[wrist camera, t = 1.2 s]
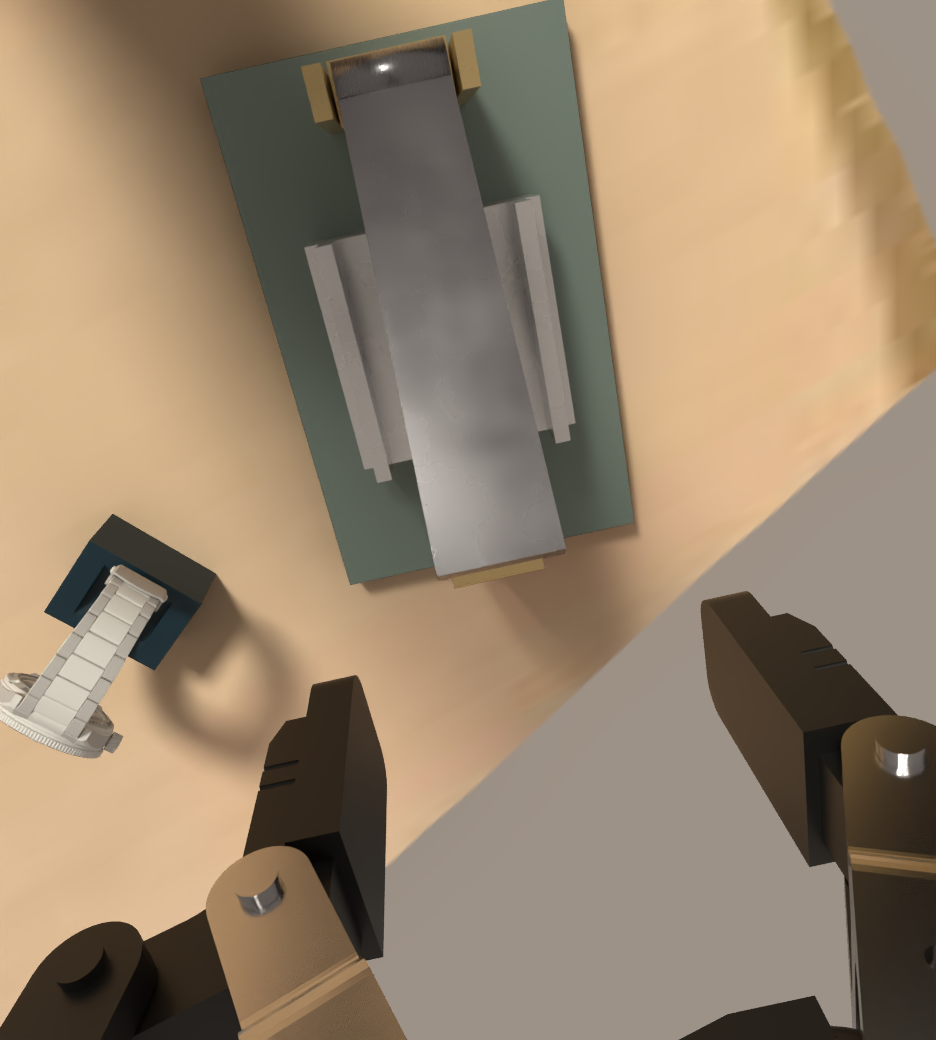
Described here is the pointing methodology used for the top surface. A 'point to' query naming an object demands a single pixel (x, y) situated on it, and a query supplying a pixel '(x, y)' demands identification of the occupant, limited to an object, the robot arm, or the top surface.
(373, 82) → the strap
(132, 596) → the watch
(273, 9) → the top surface
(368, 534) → the board
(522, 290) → the heat sink
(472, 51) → the clip posts
